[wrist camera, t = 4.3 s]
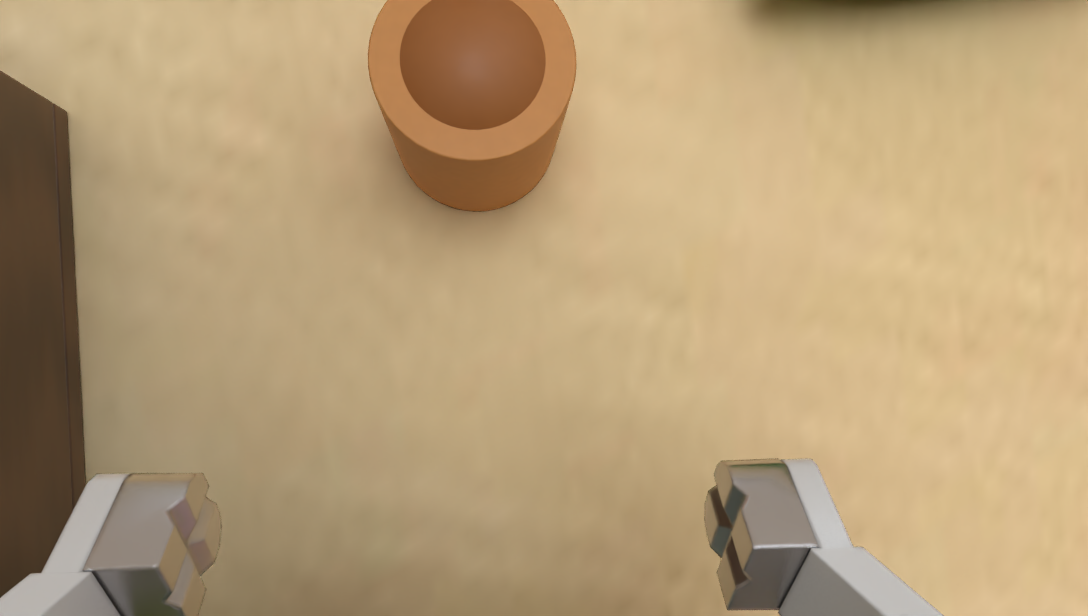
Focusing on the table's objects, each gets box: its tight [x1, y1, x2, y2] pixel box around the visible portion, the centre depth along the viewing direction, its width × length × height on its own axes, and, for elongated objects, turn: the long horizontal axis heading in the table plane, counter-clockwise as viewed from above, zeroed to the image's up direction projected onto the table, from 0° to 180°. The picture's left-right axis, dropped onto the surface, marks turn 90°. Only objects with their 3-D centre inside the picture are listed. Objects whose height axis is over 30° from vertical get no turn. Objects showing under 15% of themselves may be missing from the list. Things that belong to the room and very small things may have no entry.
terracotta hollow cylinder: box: [368, 0, 576, 211], centre depth 22 cm, size 6×6×7 cm
